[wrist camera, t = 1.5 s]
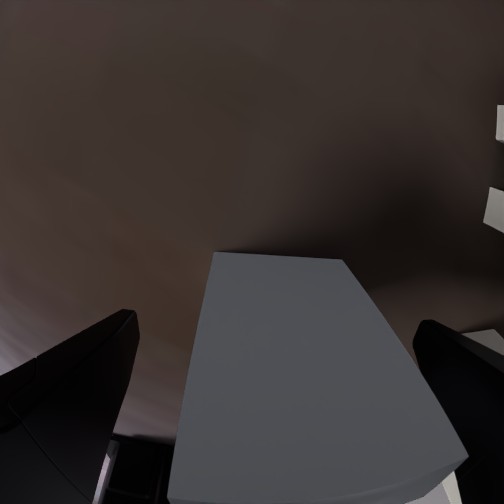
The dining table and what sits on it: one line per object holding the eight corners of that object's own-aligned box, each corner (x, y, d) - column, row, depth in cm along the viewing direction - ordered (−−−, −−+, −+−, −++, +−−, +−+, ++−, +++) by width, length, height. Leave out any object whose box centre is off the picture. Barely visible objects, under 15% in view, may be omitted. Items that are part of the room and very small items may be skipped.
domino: (333, 299, 12) (423, 496, 4) (213, 293, 12) (181, 524, 3) (342, 259, 11) (468, 456, 3) (214, 251, 11) (167, 497, 3)
